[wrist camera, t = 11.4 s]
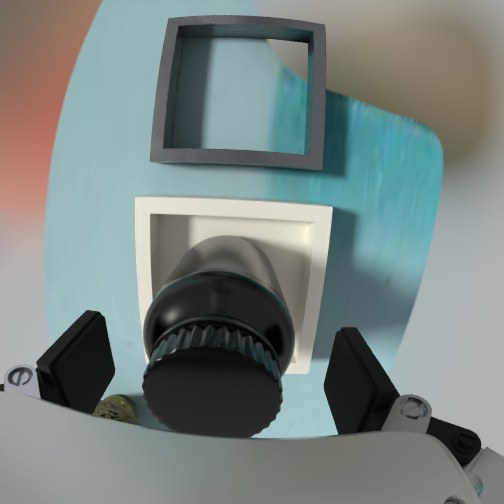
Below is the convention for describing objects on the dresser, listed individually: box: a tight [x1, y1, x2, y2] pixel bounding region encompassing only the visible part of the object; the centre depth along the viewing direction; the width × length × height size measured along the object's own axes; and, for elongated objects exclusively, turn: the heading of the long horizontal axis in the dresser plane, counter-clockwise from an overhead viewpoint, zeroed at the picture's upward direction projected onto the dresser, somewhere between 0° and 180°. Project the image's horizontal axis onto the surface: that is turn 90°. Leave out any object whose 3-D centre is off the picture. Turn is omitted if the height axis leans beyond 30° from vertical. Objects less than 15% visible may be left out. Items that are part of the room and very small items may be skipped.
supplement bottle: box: [142, 235, 295, 438], centre depth 14 cm, size 7×7×12 cm
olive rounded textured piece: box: [92, 395, 140, 426], centre depth 20 cm, size 8×7×8 cm
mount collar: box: [150, 15, 326, 171], centre depth 16 cm, size 11×11×2 cm
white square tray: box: [135, 195, 333, 374], centre depth 19 cm, size 12×12×2 cm
